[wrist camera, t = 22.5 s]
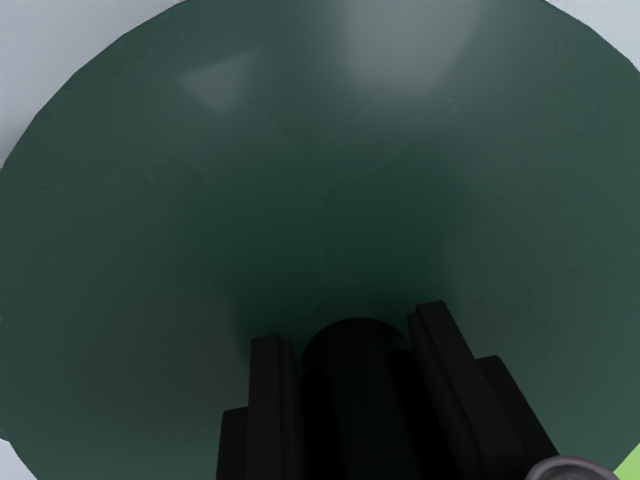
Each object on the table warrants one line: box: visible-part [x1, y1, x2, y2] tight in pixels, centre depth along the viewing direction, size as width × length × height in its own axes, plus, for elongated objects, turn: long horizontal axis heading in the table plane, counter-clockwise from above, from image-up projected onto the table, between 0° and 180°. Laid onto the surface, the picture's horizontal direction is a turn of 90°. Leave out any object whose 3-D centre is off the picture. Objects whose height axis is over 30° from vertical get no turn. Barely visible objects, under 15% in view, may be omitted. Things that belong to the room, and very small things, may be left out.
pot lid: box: [0, 0, 640, 480], centre depth 10 cm, size 15×15×7 cm
